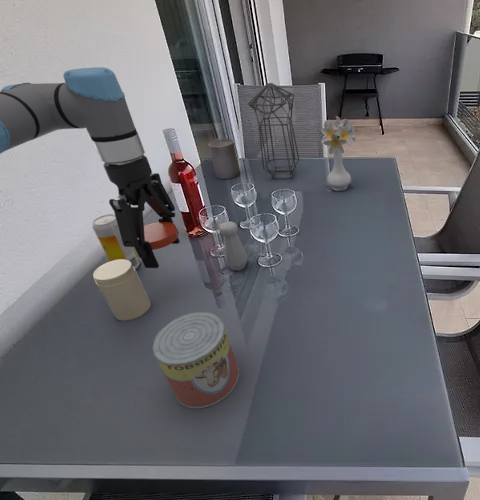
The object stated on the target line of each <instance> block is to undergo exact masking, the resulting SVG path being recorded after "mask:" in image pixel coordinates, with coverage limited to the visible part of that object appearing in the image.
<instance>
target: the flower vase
mask: <svg viewBox="0 0 480 500" xmlns="http://www.w3.org/2000/svg"><path fill="white" fill-rule="evenodd" d="M335 119H336V122H335V123H333V122H332V121H331V122H330V119H328V120H326V119H325V120H324V123H323V127H322V128H320V131H319V135H321V136H320V137H319V140H321V141H320V143H321V144H323V145H324V146H327V147H329V149H328V154H329V155H333V165H332V169H331V171H330V172H329V173H328V174H327V176H326V183H327V185H328V186H329V187H331V190H333V191H334V192H335V191H336V192H343V191H345V190H347V189H348V187H349V186H350V185H351V183H352V175H351V174H350V173H349V172H348V171H347V170H346V168H345V165H344V161H343V154H344V153H345V149H344V148H343V145H345V144H347V145H348V146H349V147H352V144H353V143H352V140H353V142H354V143H356V141H357V138H356V136H357V133H356V132H355V126H353V125H352V124H353V122H352V119H351V120H350V123H349V120H348V119H347V118H344V119H342V120H341V117H339V116H338V115H335ZM339 134H340V135H339Z"/></svg>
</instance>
